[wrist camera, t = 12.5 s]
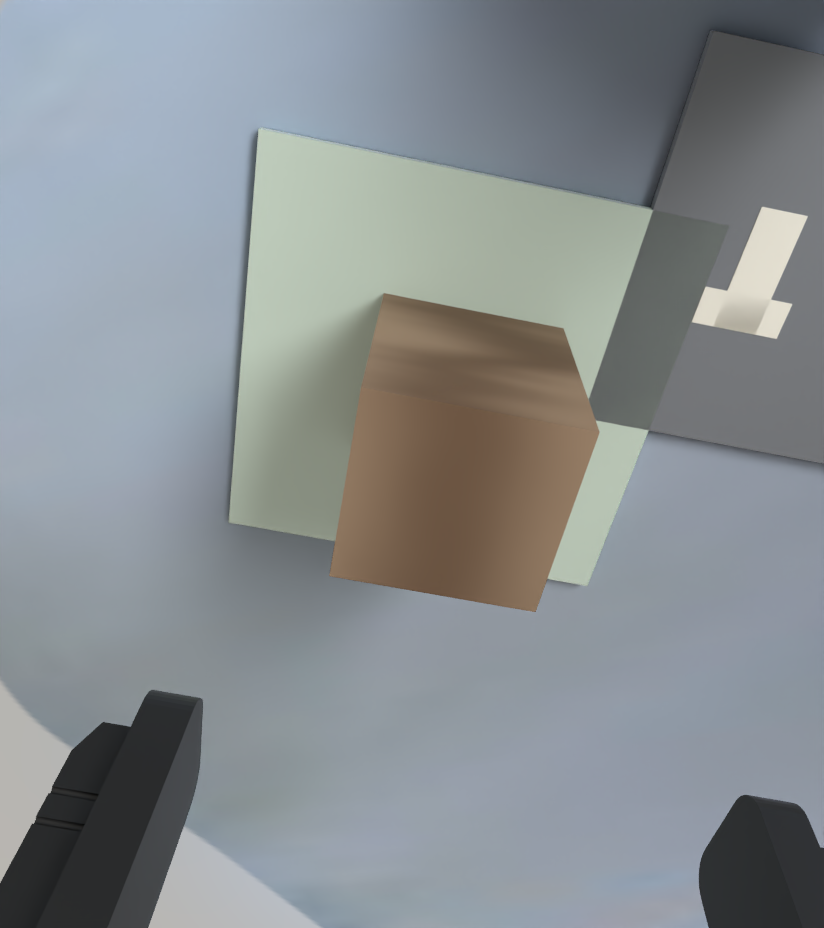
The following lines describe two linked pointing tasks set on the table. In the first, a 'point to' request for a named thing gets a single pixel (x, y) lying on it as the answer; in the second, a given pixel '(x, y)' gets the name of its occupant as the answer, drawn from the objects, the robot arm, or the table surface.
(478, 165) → the table surface
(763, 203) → the tile
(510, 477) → the walnut block
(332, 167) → the coaster
